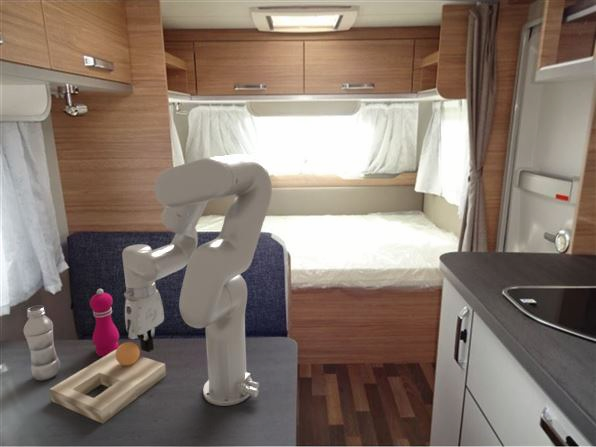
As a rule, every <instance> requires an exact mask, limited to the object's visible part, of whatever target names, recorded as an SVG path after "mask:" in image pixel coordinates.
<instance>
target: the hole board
mask: <svg viewBox="0 0 596 447" xmlns="http://www.w3.org/2000/svg"><path fill="white" fill-rule="evenodd" d="M116 351H117V349H116V350H114V351H113V352H111V353H109V354H108V355H106V356H102V357H101V358H99V359H98V360H96V361H94V362H93V363H91V364H89V365H87V366H86V367H85V368H83V369H81V370H79V371H77V372H76V373H74V374H72V375H71V376H69V377H68V378H66V379H63V380H62V381H60V382H59V383H57V384H55V385H54V386H52V387H50V388H49V393H50V398H51V402H53V403H55V404H57V405H60V406H62V407H63V408H66V409H69V410H71V411H73V412H75V413H78V414H80V415H82V416H84V417H86V418H89V419H91V420H93V421H96V422H98V423H101V424H104V423H106V422H107V421H108V420H110V419H111V418H112V417H115V415H116V414H118V413H119V412H120V411H121V410H123V409H124V408H125V407H127V406H128V405H130V404H131V403H132V402H133V401H135V400H136V399H137V398H138V397H140V396H141V395H143V394H144V393H145V392H146V391H148V390H149V389H151V387H153V386H154V385H155V384H157V383H158V382H159V381H161V380H162V379H164V378H165V377H166V376H167V370H166V363H164V362H160V361H157V360H155V359H150V358H148V357H144V356H141V355H139V358H138V359H137V361H136V362H135V363H133V364H131V365H122V364H120V363H119V362H118V361H117V360H116ZM99 386H105V387H107V388H106V389H105V390H104V391H102V392H101V393H99V394H98V395H96V396H95V397H92V396H90V395H87V394H89V393H90V392H91V391H93V390H95V389H96V388H97V387H99Z"/></svg>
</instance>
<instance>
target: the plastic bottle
mask: <svg viewBox="0 0 596 447" xmlns="http://www.w3.org/2000/svg"><path fill="white" fill-rule="evenodd" d="M26 313H27V315H26V316H27V317H26V318H28V319H27V321H26V322H25V324H24V327H23V330H22V331H23V334H24V337H25V339H26V342H27V344H28V349H29V353H30V359H31V365H30V373H31V375H32V377H33V379H34V380H36V381H46V380H49V379H52V378H54V377H56V376H57V375H58V374H59V372H60V369H61V362H60V360H59V357H58V355H57V352H56V348H55V343H54V323H53V321H52V320H51V319H50V318H49V317H48V316H47V315H45V314H46V310H45V307H44V305H42V304H40V305H34V306H31V307H28V308H27V309H26Z"/></svg>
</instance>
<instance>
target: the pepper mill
mask: <svg viewBox="0 0 596 447" xmlns="http://www.w3.org/2000/svg"><path fill="white" fill-rule="evenodd" d="M113 302H114V301H113V297H112V295H110V293H107V292H104V289H102V288H98V289H97V290H96V294H94V295H92V297H91V298H90V300H89V306H90V308H91V309H92V314H93V317H94V318H95V328H94V331H93V333H92V343H93V344H94V346H95V352H96V353H95V354H96V355H97V356H100V357H104V356H106V355H108V354H109V353H111V352H113V351H114V350H116V349H118V347H119V346H120V345H119V342H118V341H119V339H120V333H119V332H120V331H118V330H119V329H118V328H117V326H116V325H115V324H114V322H113V320H112V313H113V310H112V305H113Z"/></svg>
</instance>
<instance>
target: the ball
mask: <svg viewBox="0 0 596 447" xmlns="http://www.w3.org/2000/svg"><path fill="white" fill-rule="evenodd" d="M140 353H141V348H140V347H139V346H138V345H137V344H136V343H135V342H133V341H125V342H123V343H121V344H120V345H119V347H118V349H117V351H116V360H117V361H118V362H119V363H120V364H122V365H131V364H133V363H135V362H136V361H137V359H138V358H139V356H141V355H140Z"/></svg>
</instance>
